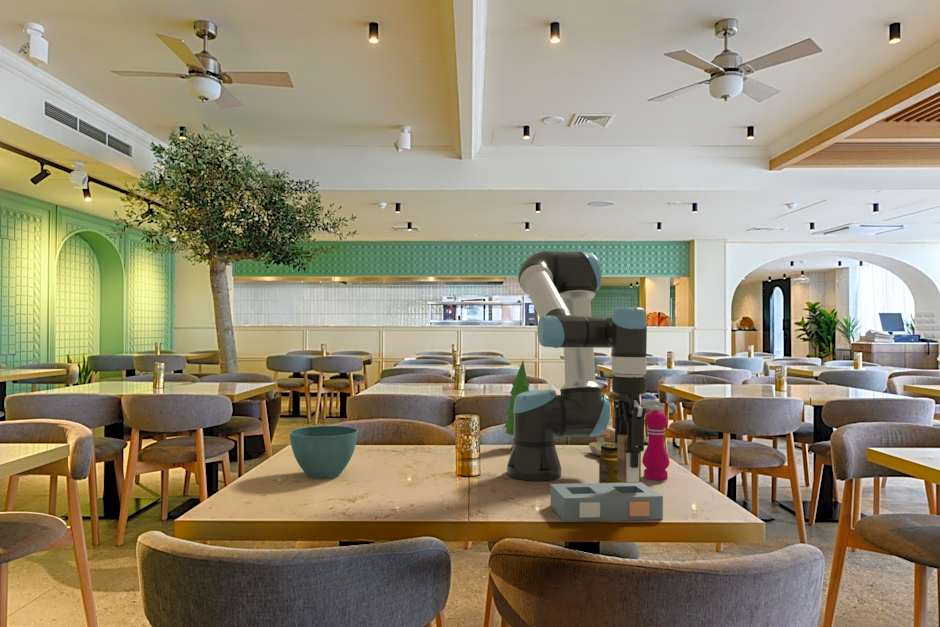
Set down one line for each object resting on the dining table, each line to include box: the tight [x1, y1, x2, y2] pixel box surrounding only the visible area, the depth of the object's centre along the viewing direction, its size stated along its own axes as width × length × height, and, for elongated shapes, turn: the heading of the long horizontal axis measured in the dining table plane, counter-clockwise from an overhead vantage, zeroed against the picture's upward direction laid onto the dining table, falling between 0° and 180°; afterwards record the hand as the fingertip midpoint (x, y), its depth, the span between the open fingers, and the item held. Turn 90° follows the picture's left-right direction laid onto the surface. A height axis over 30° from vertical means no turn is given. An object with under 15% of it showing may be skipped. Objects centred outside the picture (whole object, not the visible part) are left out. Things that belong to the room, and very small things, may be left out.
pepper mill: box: [641, 404, 670, 481], centre depth 175 cm, size 7×7×20 cm
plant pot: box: [289, 425, 359, 480], centre depth 173 cm, size 18×18×12 cm
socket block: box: [549, 481, 664, 523], centre depth 142 cm, size 22×13×5 cm, turn 97°
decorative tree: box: [503, 360, 530, 450], centre depth 213 cm, size 10×9×30 cm
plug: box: [616, 435, 642, 483], centre depth 143 cm, size 4×4×10 cm
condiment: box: [598, 443, 623, 483], centre depth 158 cm, size 7×8×12 cm
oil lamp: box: [588, 427, 617, 457], centre depth 204 cm, size 9×21×10 cm, turn 176°
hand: (628, 478), depth 143 cm, fingers closed on plug, 4 cm apart
